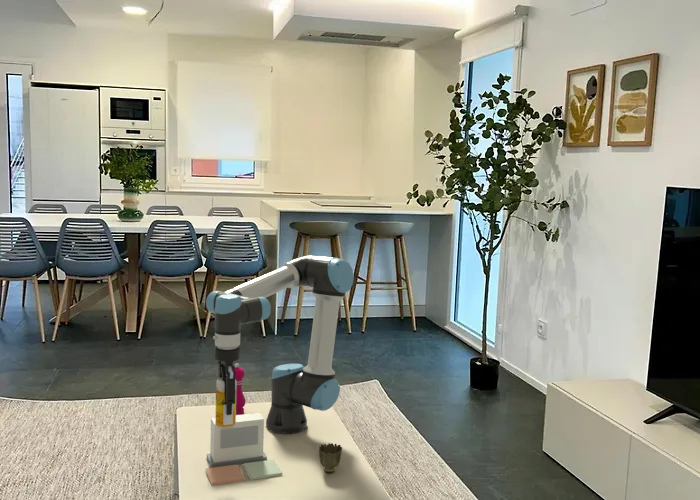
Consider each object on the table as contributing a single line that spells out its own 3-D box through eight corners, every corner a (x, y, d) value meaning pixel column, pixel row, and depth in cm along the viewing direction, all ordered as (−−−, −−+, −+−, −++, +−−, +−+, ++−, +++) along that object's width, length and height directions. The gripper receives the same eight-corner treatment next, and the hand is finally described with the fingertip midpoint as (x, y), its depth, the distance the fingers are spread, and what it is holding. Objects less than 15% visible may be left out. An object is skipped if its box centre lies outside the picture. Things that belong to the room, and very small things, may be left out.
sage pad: (273, 461, 214) (273, 459, 214) (282, 475, 205) (282, 472, 205) (243, 465, 210) (243, 463, 210) (250, 479, 201) (250, 477, 201)
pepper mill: (241, 417, 251) (242, 366, 249) (223, 415, 252) (224, 365, 250) (247, 411, 258) (249, 361, 256) (230, 409, 259) (231, 359, 257)
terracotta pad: (237, 466, 209) (237, 464, 209) (244, 480, 200) (244, 478, 200) (205, 470, 205) (205, 468, 205) (211, 485, 196) (211, 482, 196)
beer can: (213, 423, 203) (214, 376, 201) (233, 421, 205) (234, 374, 203) (217, 430, 197) (218, 382, 195) (237, 428, 199) (238, 380, 198)
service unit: (260, 451, 221) (261, 411, 220) (266, 461, 214) (267, 419, 212) (206, 458, 214) (207, 417, 213) (211, 468, 207) (212, 426, 206)
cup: (318, 465, 212) (319, 441, 212) (341, 466, 212) (342, 443, 211) (317, 476, 205) (318, 451, 204) (340, 477, 205) (341, 452, 204)
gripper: (208, 339, 205) (207, 410, 208) (221, 355, 188) (219, 433, 191) (232, 338, 208) (231, 408, 211) (247, 353, 191) (245, 430, 194)
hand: (225, 420), depth 201 cm, fingers closed on beer can, 6 cm apart
